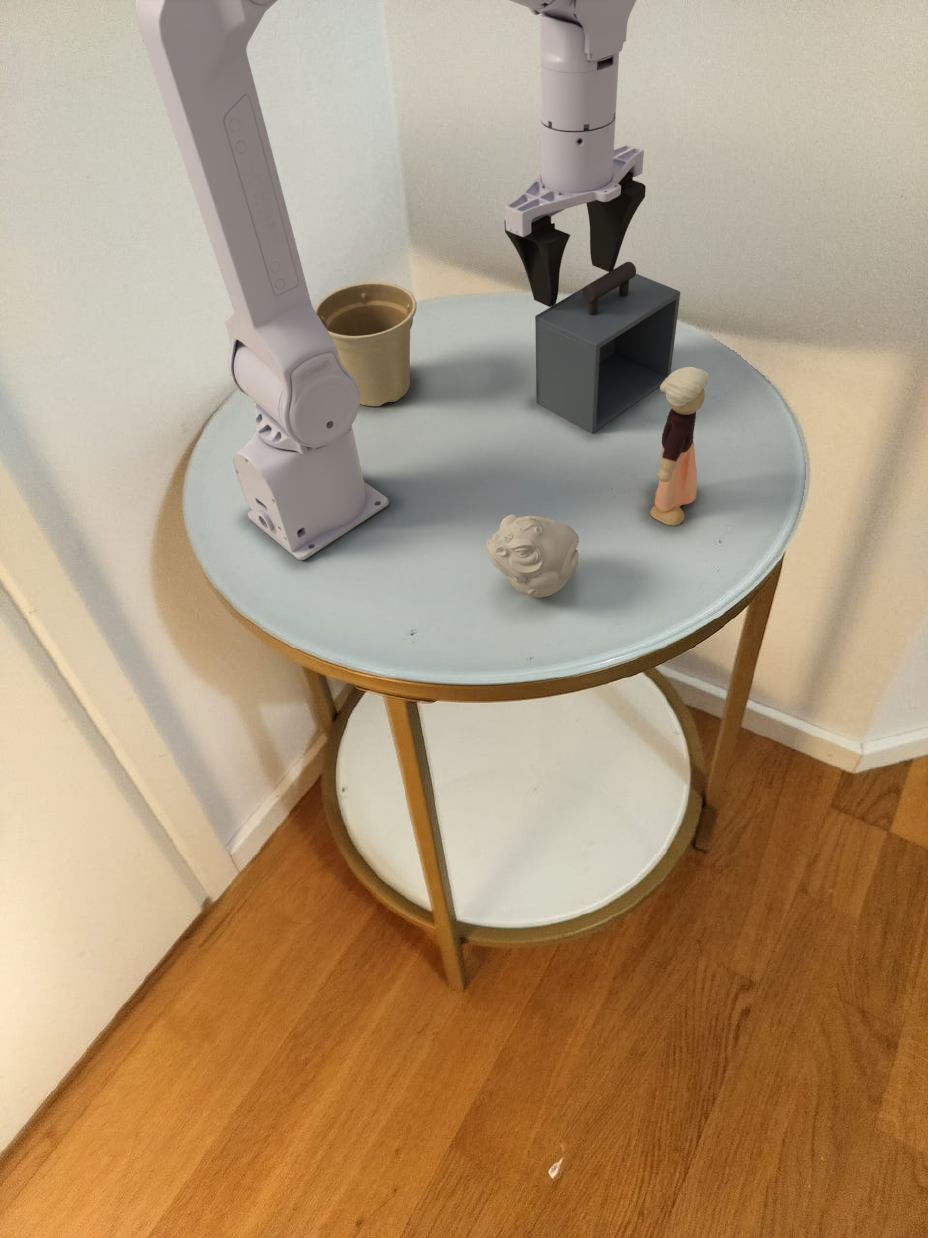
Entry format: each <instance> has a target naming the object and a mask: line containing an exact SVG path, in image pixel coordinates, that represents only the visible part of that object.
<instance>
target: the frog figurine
mask: <svg viewBox="0 0 928 1238" xmlns="http://www.w3.org/2000/svg"><path fill="white" fill-rule="evenodd" d="M579 538H580V537H579V534H578V533H577V532H576V530H574V528H573V527H571V526H570V525H568V524H567V523H564V522H563V521H558V520H556V519H553V518H549V517H543V516H537V515H525V516H522V515H520V516H518V515H516V514H513V513H510V514H508V515H507V516H505V517H504V518H503V519H502V520H501V522H500V524H499V529H498V530H496V531H495V532H494V533H493V534H492V536H491V537H490V538H488V540H487V541H486V548H487V550H488V555H489V559H490V561H491V562H492V565H493V566H494V568H496V569H498V570H499V571H500V572H501V573H502V574H503V575H505V576H506V578H507V580H508V581H509V583H510V585H511V586H512V587H513V589H515V590H516V591H517V592H519V593H520V594H522V595H524V596H527V597H530V598H537V599H538V598H545V597H549V596H551V595H553V594H556V593H557V592H559V591H560V590H561V589H562V588H563V587H564V586H565V585H566V583H568V580H569V578H571V577H572V575H574V573H575V572H576V571H577V568H578V563H579V550H578V549H577V547H578V546H579V542H580V539H579Z"/></svg>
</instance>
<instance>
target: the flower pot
mask: <svg viewBox="0 0 928 1238" xmlns="http://www.w3.org/2000/svg"><path fill="white" fill-rule="evenodd" d="M417 305H418V304H417V300H416V298H415V296H414V294H413V293H412V292H411V291H410V290H409V289H406V288H405V287H403V286H400V285H397V284H394V283H389V282H383V281H381V282H380V281H368V282H367V281H365V282H359V283H353V284H349V285H346V286H343V287H340V288H338V289H335V290H333V291H331V292H330V293H328V294H326V296H324V297H322V298H321V300H320V301H319V302H318V303H317V304H316V305H315V307H314V310H315V312H316V314H317V315H318V317H319V318H320V320H321V321H322V323H323V325H324V326H325V328H326V329H327V331H328V332H329V334H330V336H331V337H332V339H333V341H334V342H335V344H336V346H337V350H338V354H339V358H340V361H341V363H342V365H343V366H344V367H345V369H346V370H347V371H349V372H350V373H351V374H352V375H353V377H354V378H355V380H356V381H357V384H358V386H359V390H360V405H361V406H367V407H380V406H382V405H383V404H386V403H389V402H393V403H395V402H397V401H399V400H400V399H401V398H403V397H404V396H405V395H406V394H407V393H408V391H409V390H410V386H411V379H410V378H411V376H410V375H411V373H410V371H411V369H410V368H411V361H410V360H411V329H412V328H413V327H412V326H413V323H414V317H415V314H416V313H417Z"/></svg>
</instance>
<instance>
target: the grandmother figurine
mask: <svg viewBox="0 0 928 1238" xmlns="http://www.w3.org/2000/svg"><path fill="white" fill-rule="evenodd" d="M708 382H709V374H708V373H707V371H705V370H704V369H702V368H698V367H695V366H686V367H680V368H677V369H676V370H674V371H671V374H670V375H669V376H668V377H667V378H666V379H665V380H664V381H663V383H662V384H661V386H660V387H659V390H660V391H661V392H662V393H665V398H666V400H667V401H668V403H669V406H670V408H671V409H670V411H669V412H668V415H667V418H666V421H665V424H664V426H663V431H662V434H661V462H660V469H659V471H658V473H657V478H658V486H657V489H656V490H655V492H654V498H655V499H654V505H653V506H652V507H651V509H650V512H649V514H650V516H651V518H653V519H655V520H656V521H659V522H661V523H663V524H665V525H667V526H673V527H674V526H679V525H680V524H682V523H683V521H684V519H685V512H684V511H683V510H682V508H681V506H683V505H689V504H691V503H693V502H694V501H695V499H697V492H698V491H697V490H698V470H697V469H698V468H697V460H696V450H695V449H696V448H695V443H694V442H695V441H694V432H695V426H696V419H697V412H698V411H699V410H700V409H701V408H702V406H703V405H704V402H705V398H706V393H705V389H704V388H705V386H706V385H707V384H708Z"/></svg>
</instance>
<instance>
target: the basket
mask: <svg viewBox="0 0 928 1238" xmlns="http://www.w3.org/2000/svg"><path fill="white" fill-rule="evenodd" d="M680 299H681V290H678V289H676V288H673V287H670V286H668V285H665V284H663V283H660V282H658V281H656V280H653V279H651V278H649V277H646V276H643V275H641V274H638V273H637V268H636V265H635V264H634V263H633V262H632V261H625V262H624V263H622V264H620V265H619V266H617V267H614V269H613V270H612V271H610V272H607V273H605V274H603V275H601V276H600V277H599V278H597V279H595V280H593V281H591V282H590V283H588V284H587V285H585V286H584V287H582V288H580V289H578V290H576V291H575V292H574V293H572V294H570V295H568V296H566V297H565V298H563V299H562V300H560V301H558V302H556V304H555V305H553V306H551V307H548V308H546V309H545V310H543V311H541V312H540V313H538V314H536V315H535V316H534V320H535V322H534V323H535V377H536V378H535V386H536V387H535V389H536V391H535V392H536V404H537V405H539V406H541V407H543V408H545V409H547V410H548V411H550V412H552V413H554V414H555V415H558V416H559V417H561V418H563V419H565V420H566V421H568V422H571V423H572V424H574V425H576V426H577V427H580V428H581V429H583V430H585V431H586V432H588V433H591V434H594V433H596V432H597V431H598V430H600V429H601V428H602V427H604V426H605V425H608V424H609V423H610V422H611V421H613V420H614V419H616V418H617V417H618V416H620V415H621V414H623V413H624V412H625V411H627V410H629V409H631V407H633V406H634V405H636V404H637V403H639V402H640V401H641V400H643V399H644V398H646V397H647V396H649V395H650V394H652V393H653V392H654V391H656V390H657V389H660V386H661V384H662V383H663V381H664V380H665V379H666V378H667V377H668V376H669V375H670V374H671V373H672V365H673V357H674V350H675V341H676V332H677V325H678V324H677V323H678V316H679V315H678V314H679V308H680Z"/></svg>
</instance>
